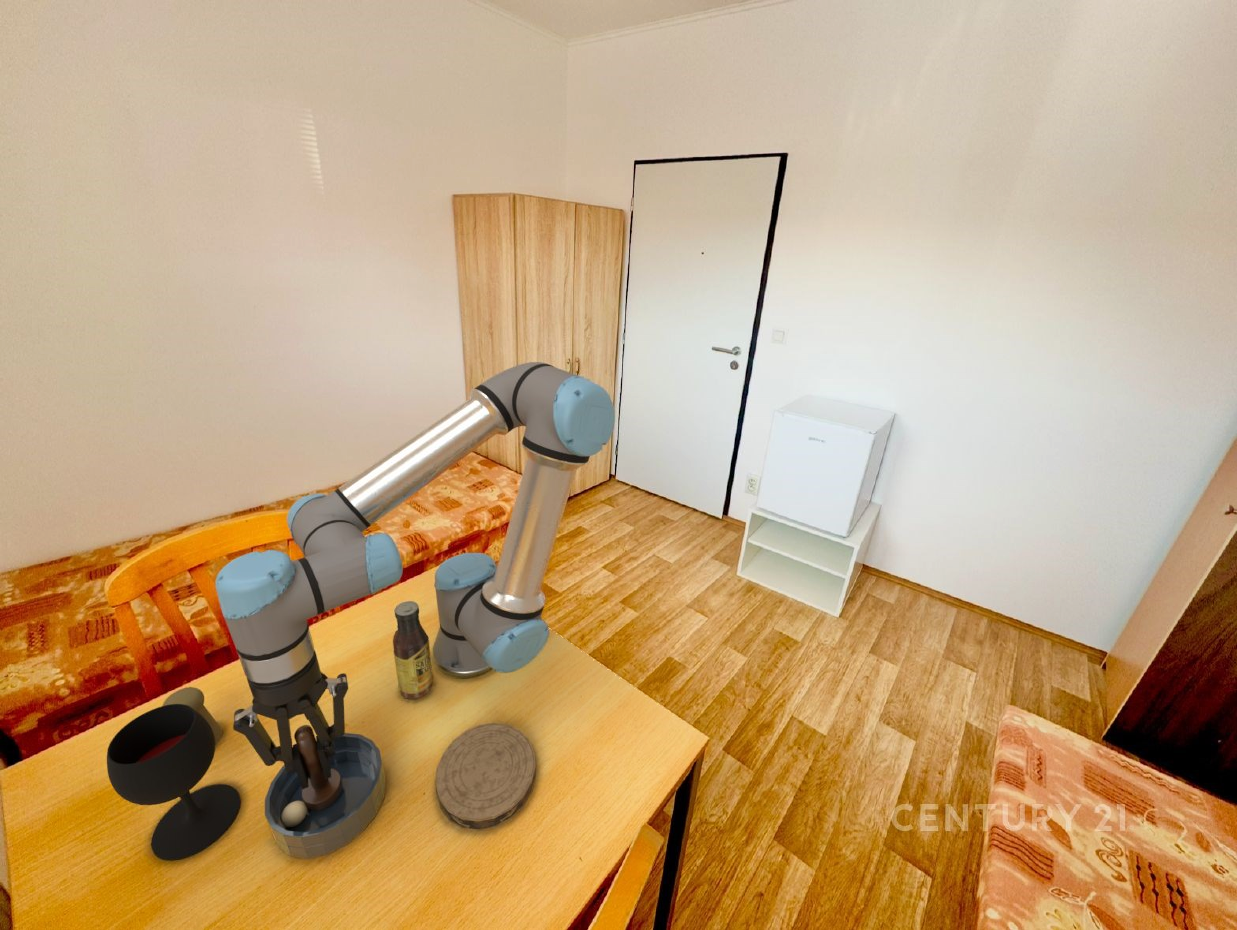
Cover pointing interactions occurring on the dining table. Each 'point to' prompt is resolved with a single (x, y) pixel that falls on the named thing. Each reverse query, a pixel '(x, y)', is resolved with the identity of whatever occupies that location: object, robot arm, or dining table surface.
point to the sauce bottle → (411, 652)
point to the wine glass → (173, 778)
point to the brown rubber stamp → (316, 773)
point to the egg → (294, 813)
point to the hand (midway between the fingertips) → (316, 775)
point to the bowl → (341, 818)
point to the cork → (195, 706)
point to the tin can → (485, 776)
